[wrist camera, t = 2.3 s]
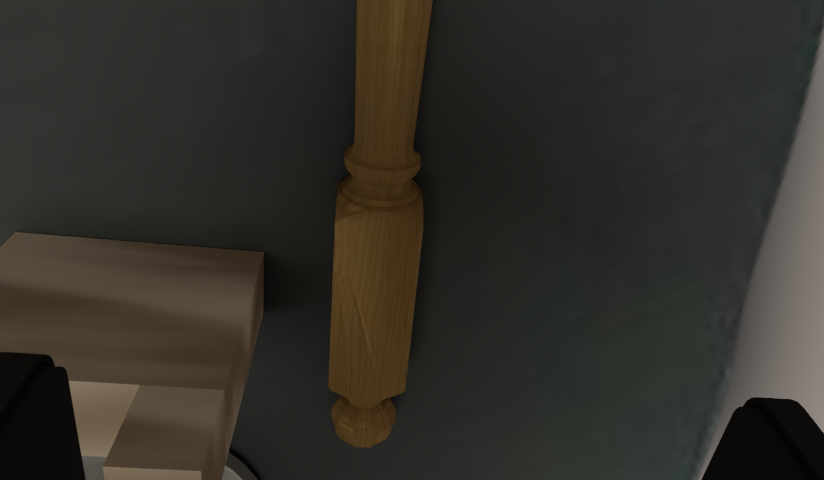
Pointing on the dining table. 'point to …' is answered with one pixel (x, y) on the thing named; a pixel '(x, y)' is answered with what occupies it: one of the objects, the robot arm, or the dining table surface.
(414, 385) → the dining table surface
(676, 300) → the dining table surface
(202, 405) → the block
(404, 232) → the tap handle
